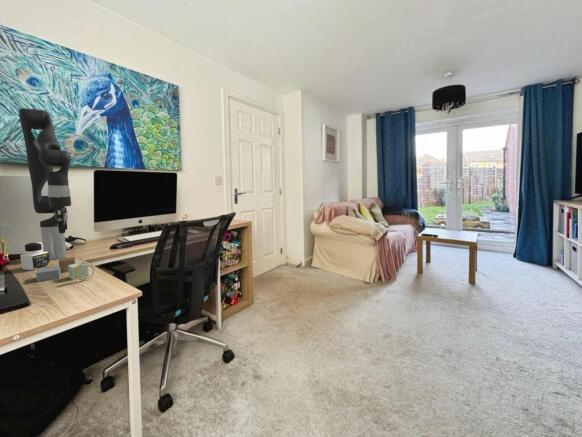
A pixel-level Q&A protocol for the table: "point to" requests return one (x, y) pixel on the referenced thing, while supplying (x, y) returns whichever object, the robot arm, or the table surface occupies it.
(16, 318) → the table surface
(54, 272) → the base block
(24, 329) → the table surface
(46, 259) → the medicine bottle
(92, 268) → the bracelet
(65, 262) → the walnut cube
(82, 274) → the sage cube
